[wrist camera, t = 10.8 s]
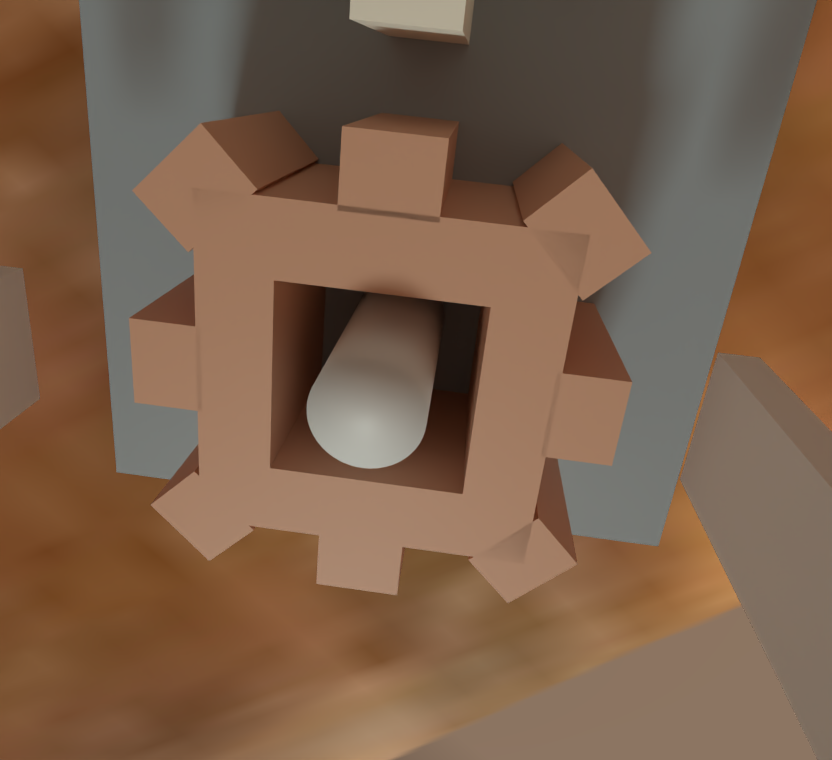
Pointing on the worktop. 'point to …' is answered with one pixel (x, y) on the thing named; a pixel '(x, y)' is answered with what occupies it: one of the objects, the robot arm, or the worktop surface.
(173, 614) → the worktop surface
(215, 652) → the worktop surface
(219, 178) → the rust gear
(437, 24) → the cream gear
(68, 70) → the worktop surface
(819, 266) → the worktop surface
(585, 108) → the gear board
